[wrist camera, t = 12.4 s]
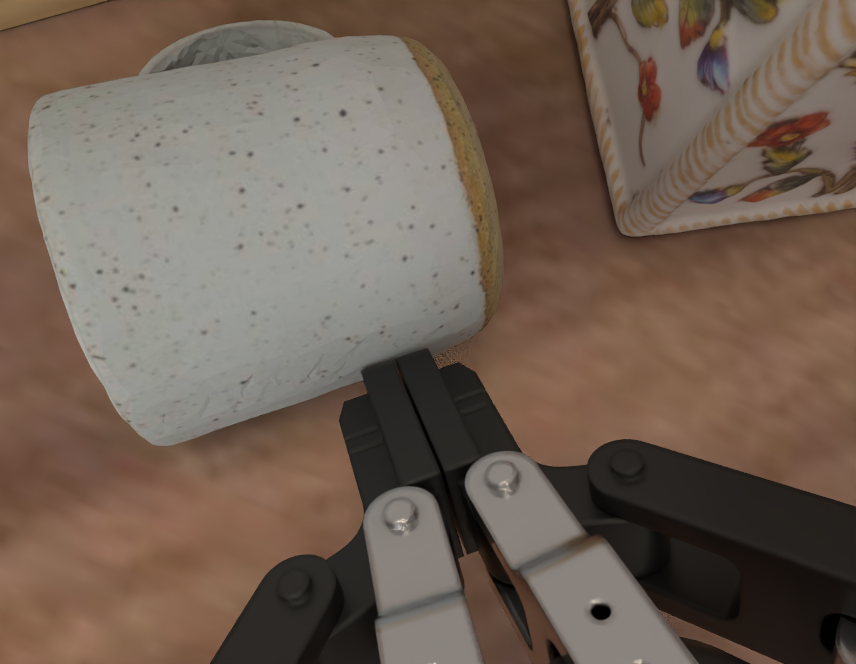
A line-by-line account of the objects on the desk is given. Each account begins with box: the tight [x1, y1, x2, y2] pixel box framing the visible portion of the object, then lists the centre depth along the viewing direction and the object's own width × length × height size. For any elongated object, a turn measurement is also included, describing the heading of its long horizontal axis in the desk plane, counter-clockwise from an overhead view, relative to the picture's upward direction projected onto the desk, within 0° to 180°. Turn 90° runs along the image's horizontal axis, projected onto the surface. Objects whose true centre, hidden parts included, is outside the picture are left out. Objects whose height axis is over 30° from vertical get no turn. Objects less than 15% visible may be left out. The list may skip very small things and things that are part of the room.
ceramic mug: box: [27, 20, 503, 446], centre depth 17 cm, size 11×8×8 cm
